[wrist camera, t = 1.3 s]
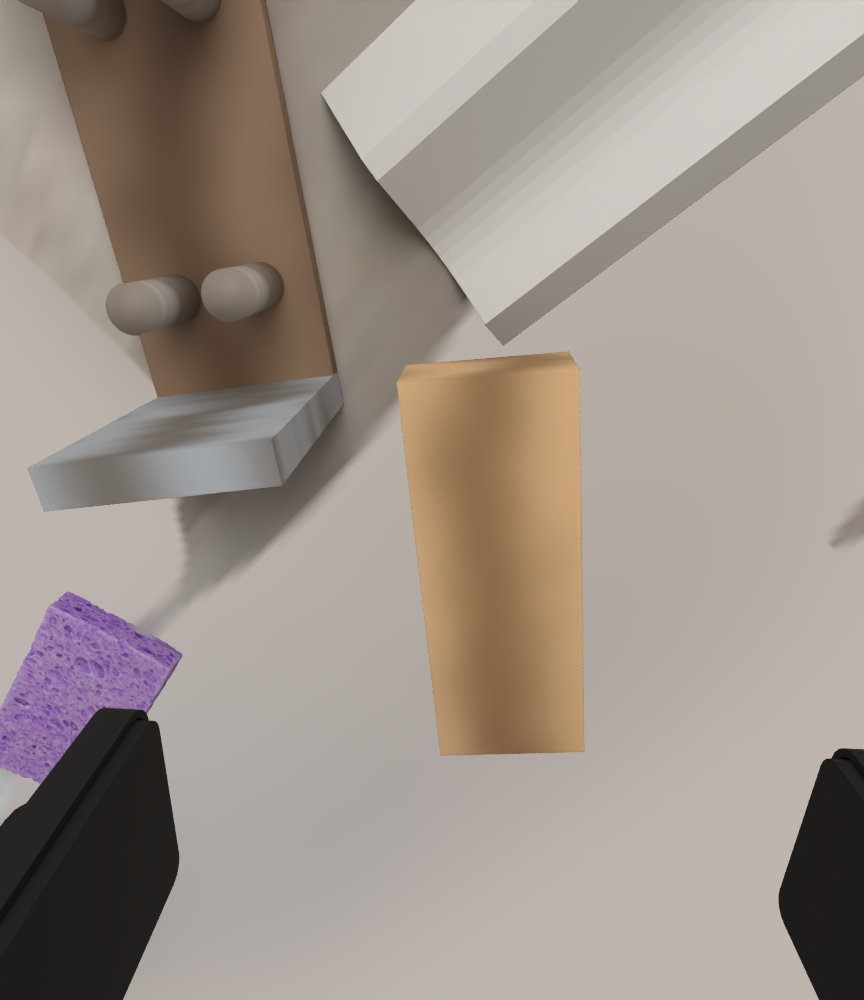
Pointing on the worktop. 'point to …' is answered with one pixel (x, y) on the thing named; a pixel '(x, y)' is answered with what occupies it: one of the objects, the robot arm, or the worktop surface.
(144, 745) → the robot arm
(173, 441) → the peg frame
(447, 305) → the worktop surface
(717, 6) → the crown molding
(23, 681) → the sponges
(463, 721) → the shelf board
